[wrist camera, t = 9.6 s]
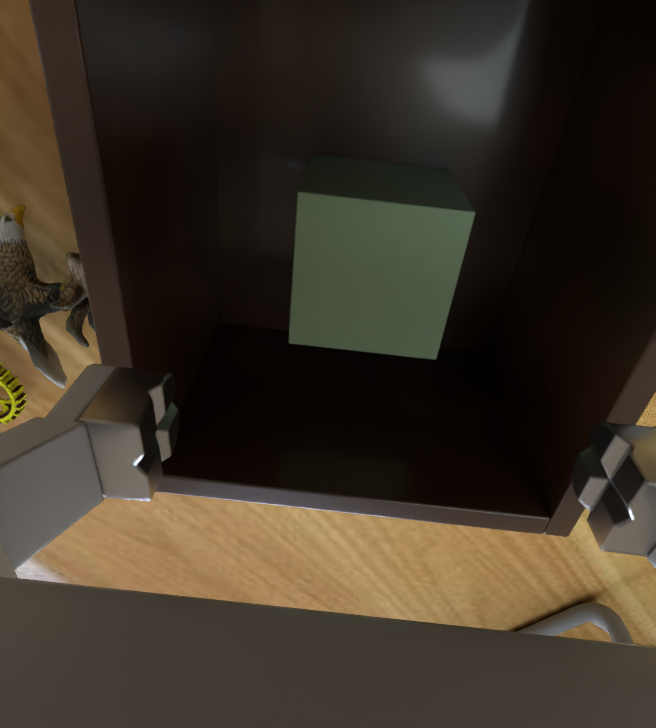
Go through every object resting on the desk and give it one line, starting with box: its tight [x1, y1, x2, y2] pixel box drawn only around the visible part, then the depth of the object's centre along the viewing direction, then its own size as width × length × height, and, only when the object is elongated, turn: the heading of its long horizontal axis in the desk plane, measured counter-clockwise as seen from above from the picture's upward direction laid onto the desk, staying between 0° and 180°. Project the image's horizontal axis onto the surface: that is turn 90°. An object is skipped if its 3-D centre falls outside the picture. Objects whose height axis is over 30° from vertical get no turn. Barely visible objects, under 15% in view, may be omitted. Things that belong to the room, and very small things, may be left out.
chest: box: [29, 0, 656, 537], centre depth 15 cm, size 16×14×10 cm
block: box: [288, 154, 475, 360], centre depth 17 cm, size 5×5×5 cm
